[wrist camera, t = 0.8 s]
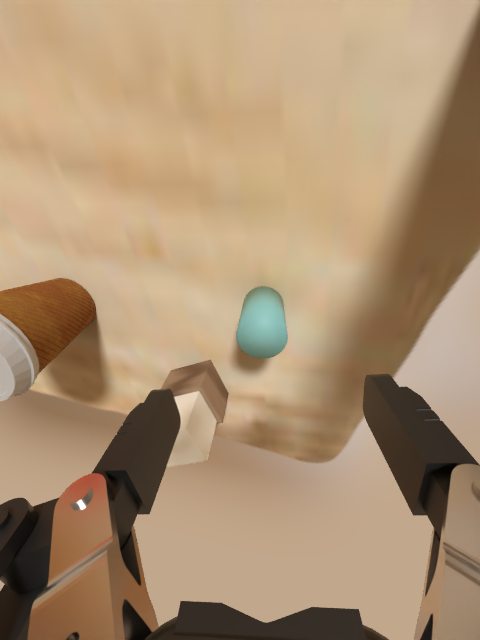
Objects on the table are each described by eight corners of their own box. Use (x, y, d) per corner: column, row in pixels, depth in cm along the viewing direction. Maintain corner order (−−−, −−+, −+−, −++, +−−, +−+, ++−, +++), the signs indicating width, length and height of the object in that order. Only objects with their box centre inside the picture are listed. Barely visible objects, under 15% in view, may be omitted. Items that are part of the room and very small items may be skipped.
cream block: (199, 391, 27) (185, 428, 23) (216, 421, 29) (207, 461, 25) (161, 399, 29) (142, 437, 24) (181, 428, 31) (166, 467, 26)
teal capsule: (275, 280, 26) (278, 308, 20) (288, 316, 27) (294, 351, 21) (237, 293, 27) (228, 323, 21) (251, 327, 29) (247, 363, 22)
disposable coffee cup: (97, 348, 32) (14, 422, 22) (27, 312, 31) (-100, 373, 20) (118, 292, 28) (28, 350, 18) (38, 247, 27) (-113, 281, 16)
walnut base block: (210, 359, 31) (201, 386, 27) (228, 393, 34) (222, 422, 29) (171, 370, 33) (156, 397, 29) (190, 401, 35) (179, 431, 31)
